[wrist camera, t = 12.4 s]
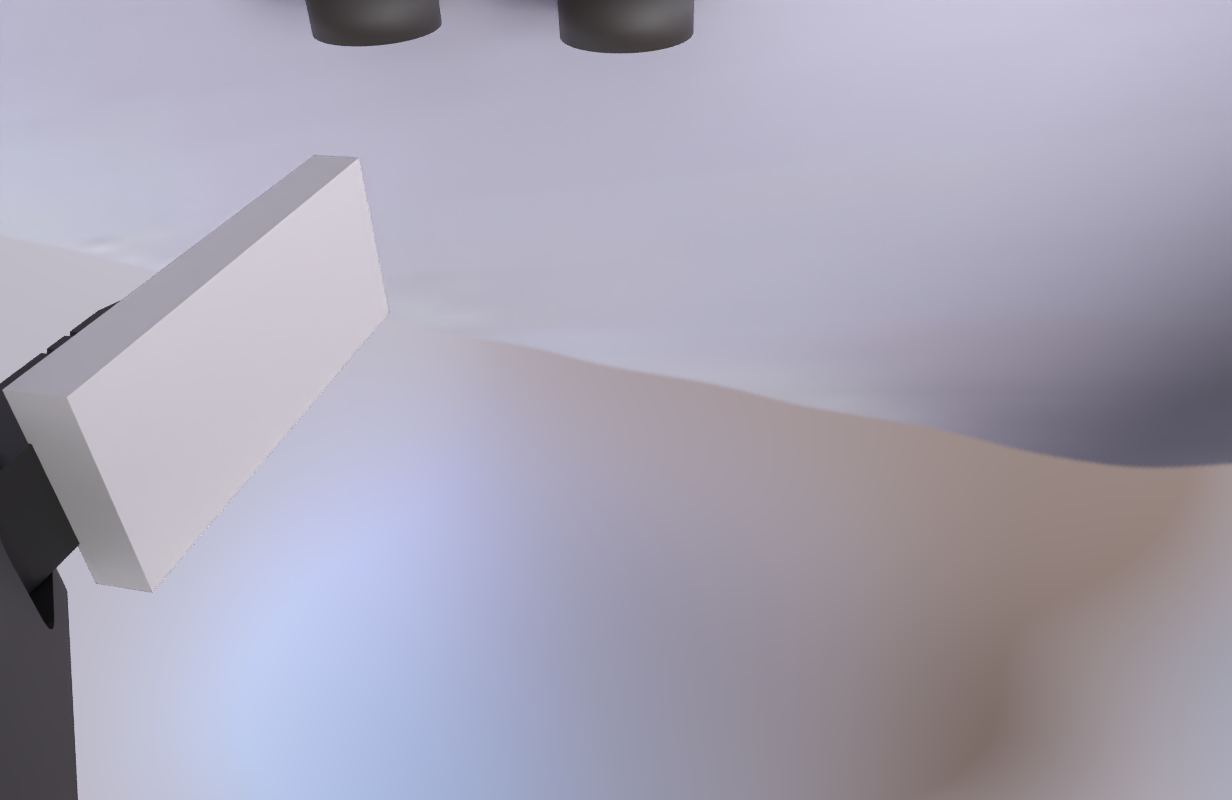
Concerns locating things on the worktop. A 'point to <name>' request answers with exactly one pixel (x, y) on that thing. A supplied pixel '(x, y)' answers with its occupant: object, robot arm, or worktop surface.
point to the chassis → (588, 20)
